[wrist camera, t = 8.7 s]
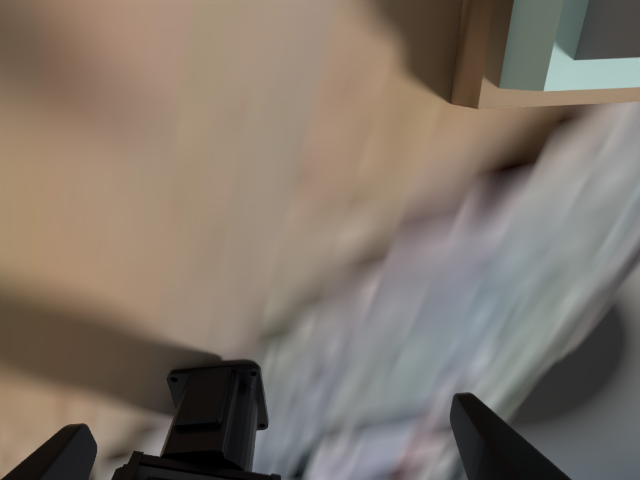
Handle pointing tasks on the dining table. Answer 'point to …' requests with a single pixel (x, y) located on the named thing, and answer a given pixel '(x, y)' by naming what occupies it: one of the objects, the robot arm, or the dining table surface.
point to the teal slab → (557, 51)
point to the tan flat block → (487, 61)
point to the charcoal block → (610, 30)
